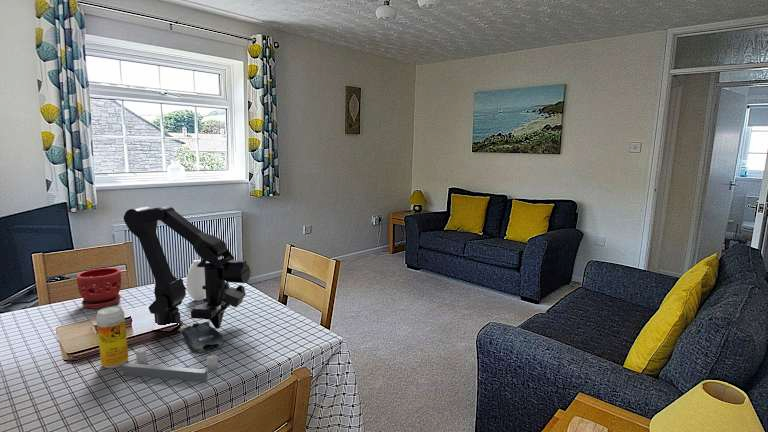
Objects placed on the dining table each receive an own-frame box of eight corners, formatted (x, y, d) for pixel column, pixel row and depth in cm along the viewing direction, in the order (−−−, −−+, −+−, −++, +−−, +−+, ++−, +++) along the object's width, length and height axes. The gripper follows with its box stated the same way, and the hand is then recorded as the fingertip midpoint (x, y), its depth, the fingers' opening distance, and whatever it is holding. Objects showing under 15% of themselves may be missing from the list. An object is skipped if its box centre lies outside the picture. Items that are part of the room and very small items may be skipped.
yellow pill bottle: (108, 371, 105) (102, 316, 103) (97, 364, 108) (91, 311, 106) (133, 361, 110) (128, 309, 108) (121, 355, 114) (116, 303, 111)
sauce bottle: (203, 294, 159) (200, 249, 156) (214, 299, 155) (212, 253, 151) (183, 300, 153) (180, 253, 150) (195, 305, 148) (192, 257, 145)
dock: (122, 374, 104) (120, 362, 103) (141, 360, 111) (140, 348, 110) (205, 382, 102) (204, 369, 101) (219, 367, 108) (218, 355, 108)
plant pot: (130, 301, 151) (127, 270, 149) (90, 313, 140) (86, 280, 138) (113, 294, 158) (110, 264, 155) (73, 305, 147) (69, 273, 145)
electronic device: (178, 343, 124) (195, 355, 113) (178, 325, 124) (195, 335, 113) (209, 338, 131) (228, 349, 120) (210, 320, 131) (229, 330, 120)
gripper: (225, 293, 116) (228, 344, 119) (253, 272, 134) (255, 317, 137) (188, 290, 117) (191, 341, 120) (220, 271, 135) (223, 315, 138)
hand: (217, 328), depth 129 cm, fingers closed
